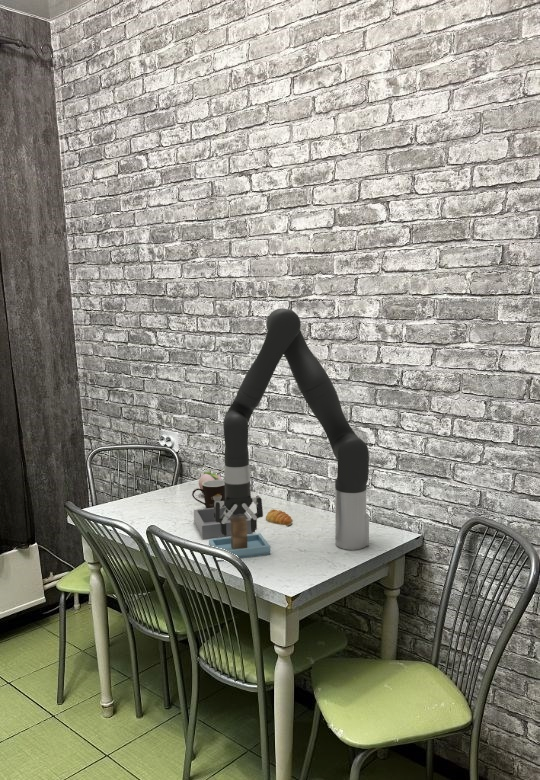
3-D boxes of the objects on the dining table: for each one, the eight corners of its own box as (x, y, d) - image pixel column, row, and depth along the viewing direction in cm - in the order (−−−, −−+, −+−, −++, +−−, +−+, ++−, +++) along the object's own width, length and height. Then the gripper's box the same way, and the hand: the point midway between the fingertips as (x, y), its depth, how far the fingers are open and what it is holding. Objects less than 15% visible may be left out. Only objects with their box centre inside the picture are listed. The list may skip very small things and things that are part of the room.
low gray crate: (241, 518, 214) (240, 504, 213) (252, 535, 198) (252, 519, 198) (194, 524, 209) (193, 509, 209) (202, 541, 194) (202, 525, 193)
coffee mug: (229, 507, 227) (228, 480, 225) (225, 514, 218) (224, 486, 217) (197, 506, 228) (196, 479, 226) (192, 514, 219) (191, 486, 218)
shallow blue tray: (260, 541, 193) (260, 533, 193) (270, 554, 183) (270, 546, 183) (209, 547, 189) (208, 539, 189) (216, 561, 179) (215, 553, 178)
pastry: (297, 524, 208) (297, 512, 208) (283, 529, 204) (282, 518, 203) (277, 517, 215) (277, 506, 215) (263, 522, 210) (263, 511, 210)
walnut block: (244, 545, 188) (243, 516, 187) (247, 550, 184) (246, 520, 183) (231, 546, 187) (230, 517, 186) (234, 551, 183) (233, 521, 182)
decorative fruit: (194, 496, 240) (193, 470, 238) (209, 491, 246) (208, 466, 245) (211, 501, 234) (210, 474, 232) (226, 495, 240) (226, 470, 239)
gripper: (215, 485, 178) (217, 540, 180) (264, 480, 181) (265, 534, 184) (210, 478, 185) (212, 531, 187) (257, 474, 189) (259, 526, 191)
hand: (239, 533), depth 185 cm, fingers open, 8 cm apart
